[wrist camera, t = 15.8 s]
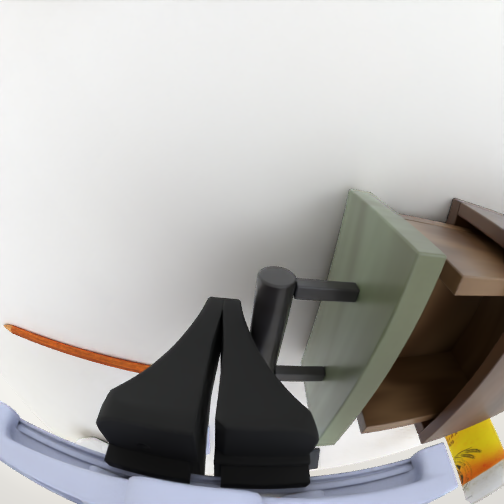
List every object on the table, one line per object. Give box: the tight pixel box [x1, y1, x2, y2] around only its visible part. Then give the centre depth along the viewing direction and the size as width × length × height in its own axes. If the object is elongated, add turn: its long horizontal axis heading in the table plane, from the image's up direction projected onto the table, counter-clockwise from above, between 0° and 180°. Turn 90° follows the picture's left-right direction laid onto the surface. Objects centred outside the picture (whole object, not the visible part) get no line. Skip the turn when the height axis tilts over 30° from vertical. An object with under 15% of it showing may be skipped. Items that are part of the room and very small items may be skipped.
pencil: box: [3, 325, 150, 373], centre depth 19 cm, size 1×18×1 cm, turn 83°
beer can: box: [445, 418, 504, 504], centre depth 18 cm, size 6×6×15 cm
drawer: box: [250, 189, 504, 446], centre depth 12 cm, size 16×11×6 cm
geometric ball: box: [75, 437, 108, 454], centre depth 25 cm, size 8×8×8 cm
